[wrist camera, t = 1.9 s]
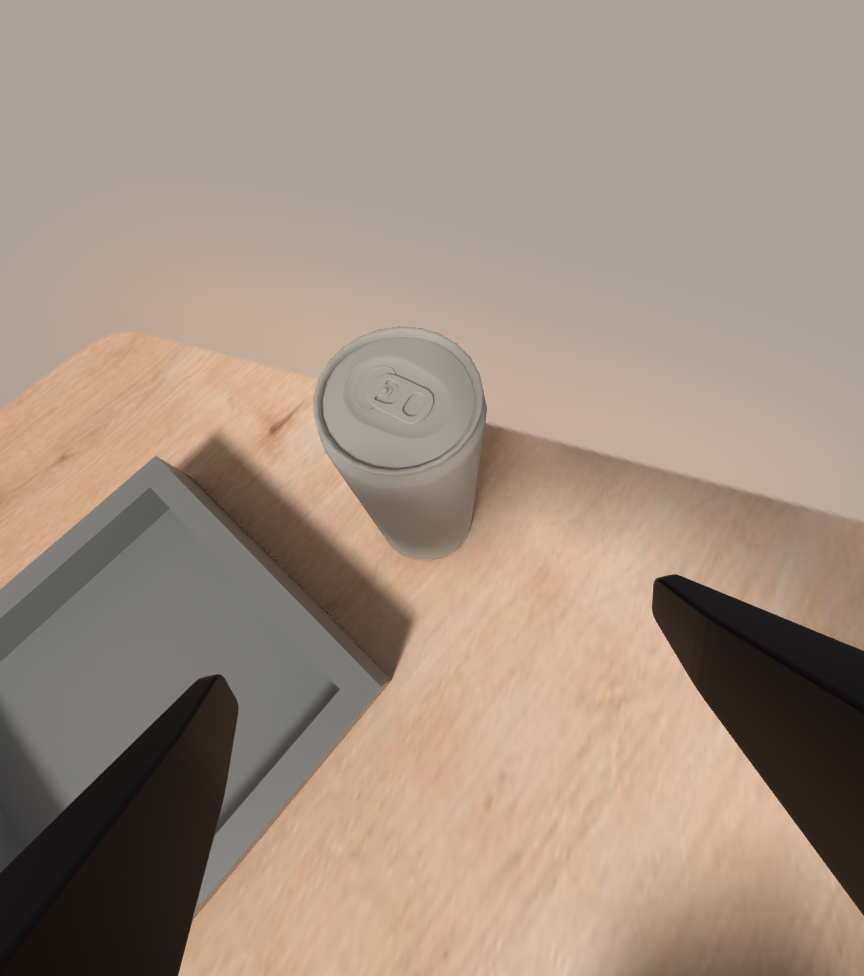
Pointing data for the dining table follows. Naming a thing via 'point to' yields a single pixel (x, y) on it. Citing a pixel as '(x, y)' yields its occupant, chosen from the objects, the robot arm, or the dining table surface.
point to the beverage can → (406, 435)
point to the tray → (166, 661)
